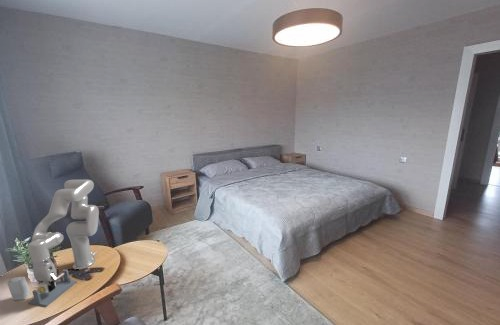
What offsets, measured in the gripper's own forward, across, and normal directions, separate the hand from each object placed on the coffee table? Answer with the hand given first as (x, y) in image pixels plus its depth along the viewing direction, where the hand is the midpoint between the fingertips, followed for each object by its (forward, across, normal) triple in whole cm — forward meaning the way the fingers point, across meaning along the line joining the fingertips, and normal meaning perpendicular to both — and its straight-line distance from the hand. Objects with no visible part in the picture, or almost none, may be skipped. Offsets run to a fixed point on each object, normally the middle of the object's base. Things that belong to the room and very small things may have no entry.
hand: (48, 289), depth 127 cm
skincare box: (+5, +15, +4) cm, 16 cm away
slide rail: (+4, 0, -2) cm, 5 cm away
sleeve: (0, 0, 0) cm, 0 cm away
